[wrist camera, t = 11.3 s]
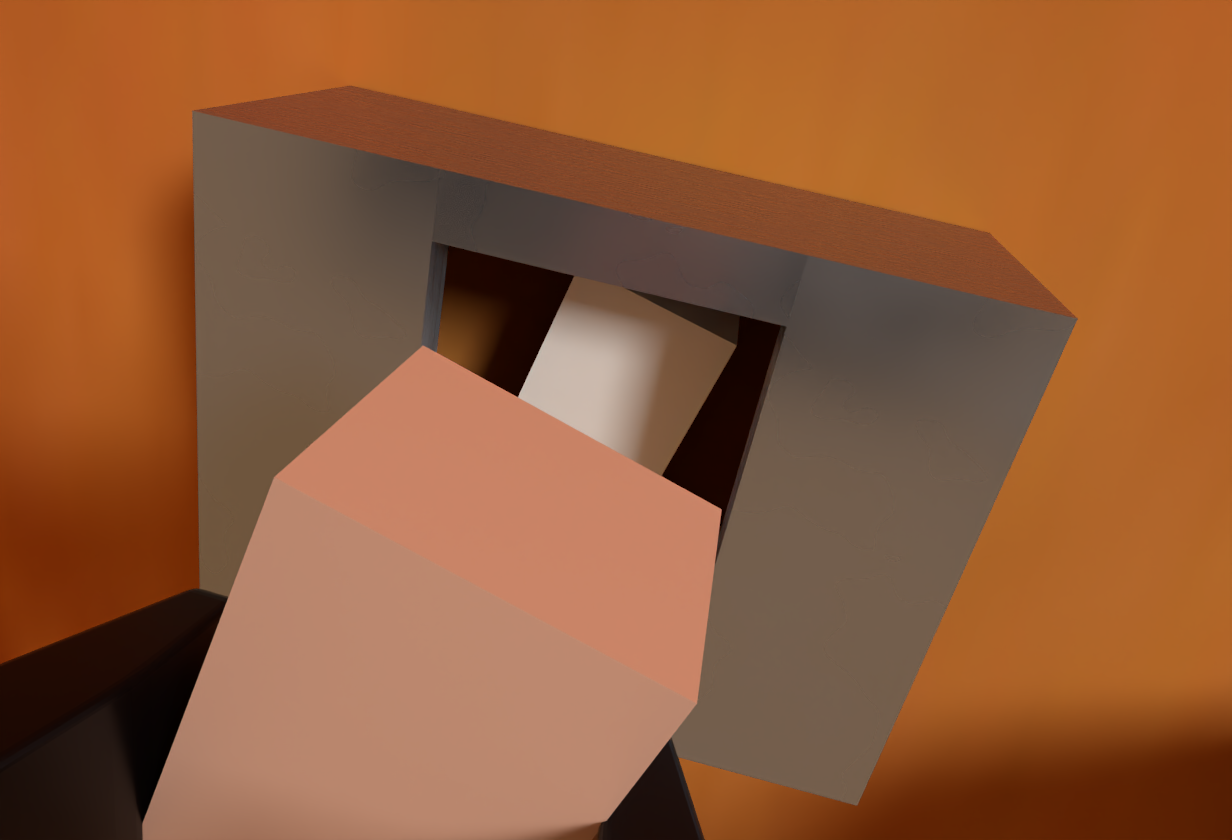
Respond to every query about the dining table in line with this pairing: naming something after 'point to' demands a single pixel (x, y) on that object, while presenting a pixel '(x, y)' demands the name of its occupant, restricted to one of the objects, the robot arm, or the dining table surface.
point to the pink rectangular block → (445, 631)
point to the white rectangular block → (630, 367)
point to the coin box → (668, 267)
